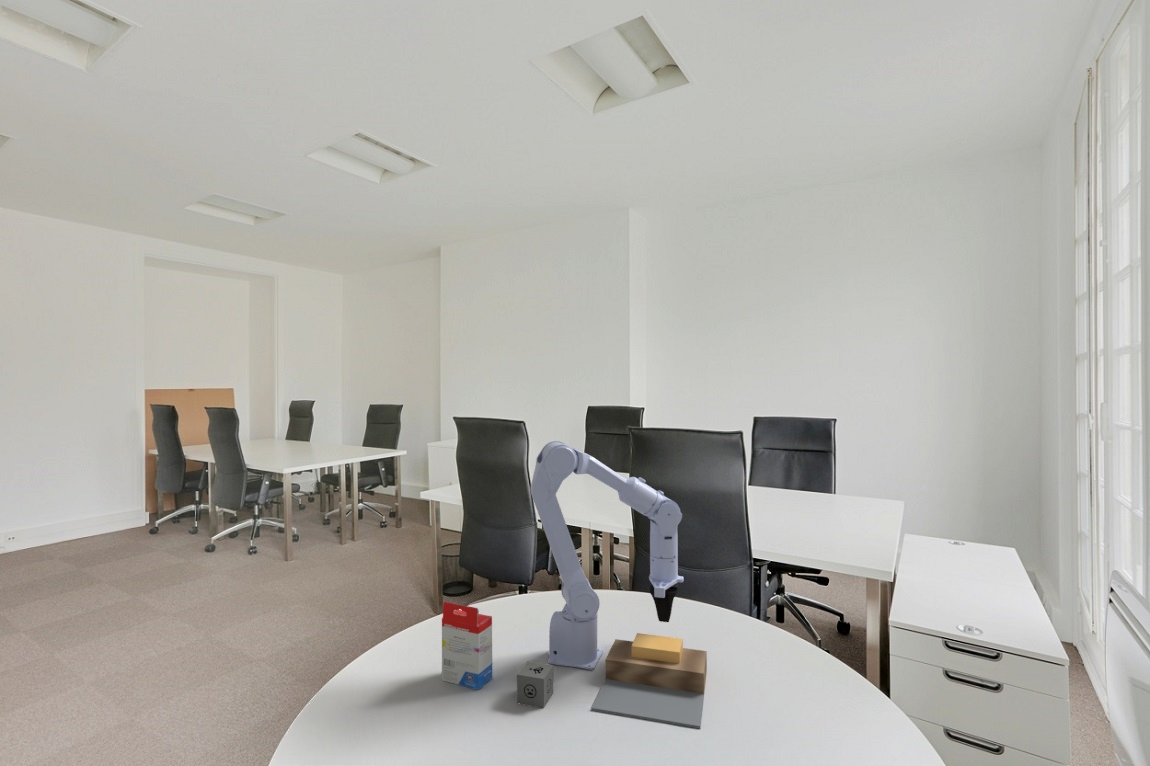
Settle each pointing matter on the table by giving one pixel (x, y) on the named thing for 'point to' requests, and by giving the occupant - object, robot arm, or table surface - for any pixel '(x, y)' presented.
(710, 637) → the table surface
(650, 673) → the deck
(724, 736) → the table surface
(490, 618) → the ink box
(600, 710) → the mat
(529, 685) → the dice cube
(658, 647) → the yellow orange block
